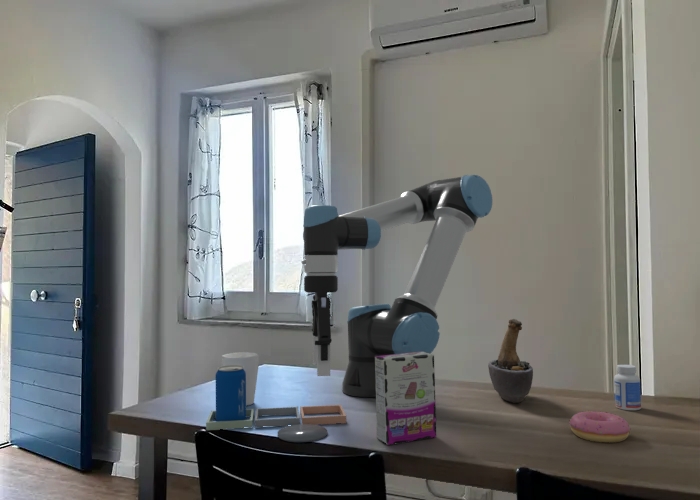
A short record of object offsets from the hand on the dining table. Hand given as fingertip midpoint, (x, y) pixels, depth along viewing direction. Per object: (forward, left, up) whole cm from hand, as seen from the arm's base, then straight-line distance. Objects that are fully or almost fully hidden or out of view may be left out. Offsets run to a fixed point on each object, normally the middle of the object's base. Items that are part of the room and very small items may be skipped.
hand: (321, 370), depth 125 cm
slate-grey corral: (+10, 0, -11) cm, 15 cm away
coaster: (+5, +11, -11) cm, 16 cm away
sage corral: (+20, 0, -11) cm, 23 cm away
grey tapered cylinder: (+19, -17, -11) cm, 28 cm away
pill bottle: (-71, +4, -11) cm, 72 cm away
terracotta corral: (0, 0, -11) cm, 11 cm away
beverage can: (+20, 0, -11) cm, 23 cm away
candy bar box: (-15, +17, -11) cm, 25 cm away
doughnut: (-53, +22, -11) cm, 58 cm away
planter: (-48, -9, -11) cm, 50 cm away
